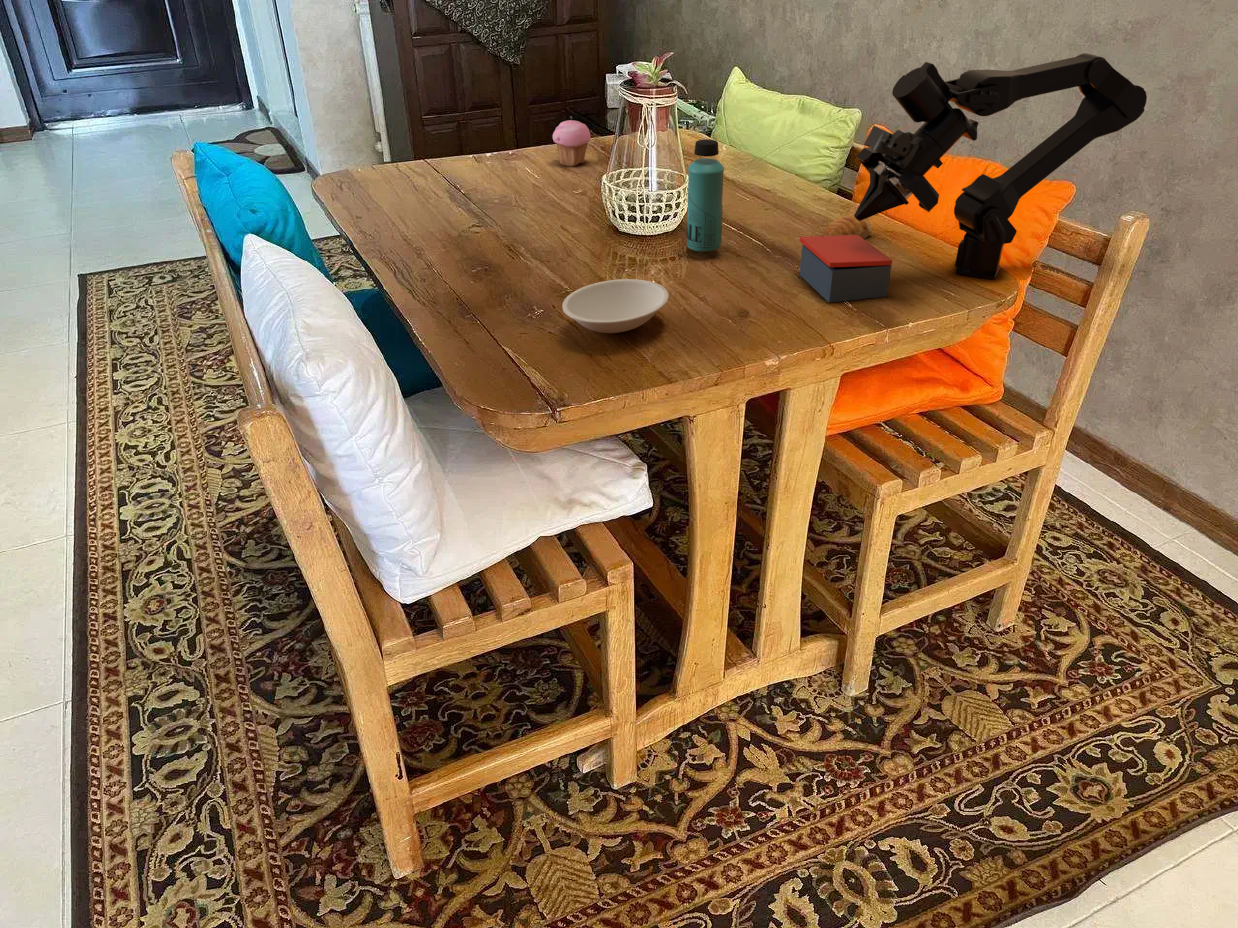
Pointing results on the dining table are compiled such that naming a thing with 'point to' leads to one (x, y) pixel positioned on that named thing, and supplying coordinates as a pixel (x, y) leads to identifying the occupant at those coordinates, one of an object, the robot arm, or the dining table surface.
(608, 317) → the dish
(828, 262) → the lid
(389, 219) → the dining table surface
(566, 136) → the cupcake
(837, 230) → the pastry
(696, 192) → the beverage bottle
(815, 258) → the lunchbox
